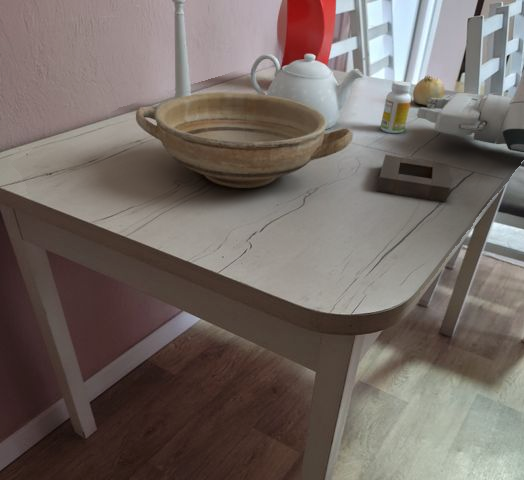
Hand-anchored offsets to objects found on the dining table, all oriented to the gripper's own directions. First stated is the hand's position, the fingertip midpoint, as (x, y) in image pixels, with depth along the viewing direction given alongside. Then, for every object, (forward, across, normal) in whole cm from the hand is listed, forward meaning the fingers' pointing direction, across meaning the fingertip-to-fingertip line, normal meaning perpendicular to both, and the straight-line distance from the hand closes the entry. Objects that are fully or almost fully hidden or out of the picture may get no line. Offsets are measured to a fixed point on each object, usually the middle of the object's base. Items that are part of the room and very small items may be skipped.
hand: (423, 106), depth 106 cm
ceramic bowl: (+22, -42, -6) cm, 48 cm away
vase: (+38, +22, -6) cm, 44 cm away
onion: (+4, +28, -6) cm, 29 cm away
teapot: (+26, -7, -6) cm, 27 cm away
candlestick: (+51, -17, -6) cm, 54 cm away
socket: (-6, -29, -6) cm, 30 cm away
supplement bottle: (+6, 0, -6) cm, 8 cm away
